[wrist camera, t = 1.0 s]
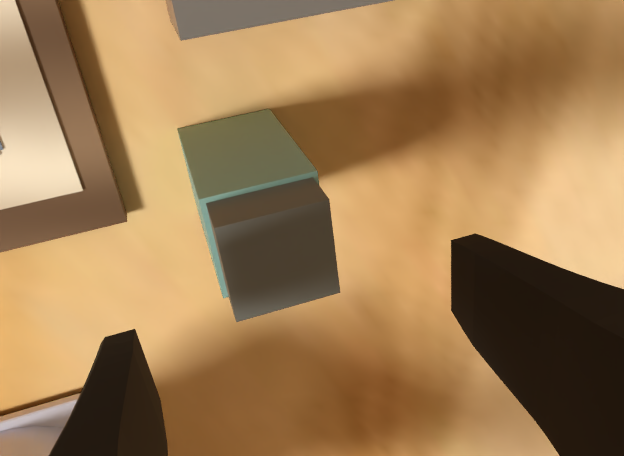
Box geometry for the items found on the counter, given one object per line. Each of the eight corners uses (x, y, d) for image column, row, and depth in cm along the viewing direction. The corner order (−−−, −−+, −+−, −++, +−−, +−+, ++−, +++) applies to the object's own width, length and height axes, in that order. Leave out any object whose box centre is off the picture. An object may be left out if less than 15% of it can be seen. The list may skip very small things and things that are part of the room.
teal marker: (282, 190, 22) (345, 295, 16) (197, 211, 21) (231, 328, 16) (269, 108, 20) (333, 192, 15) (177, 128, 20) (206, 224, 14)
